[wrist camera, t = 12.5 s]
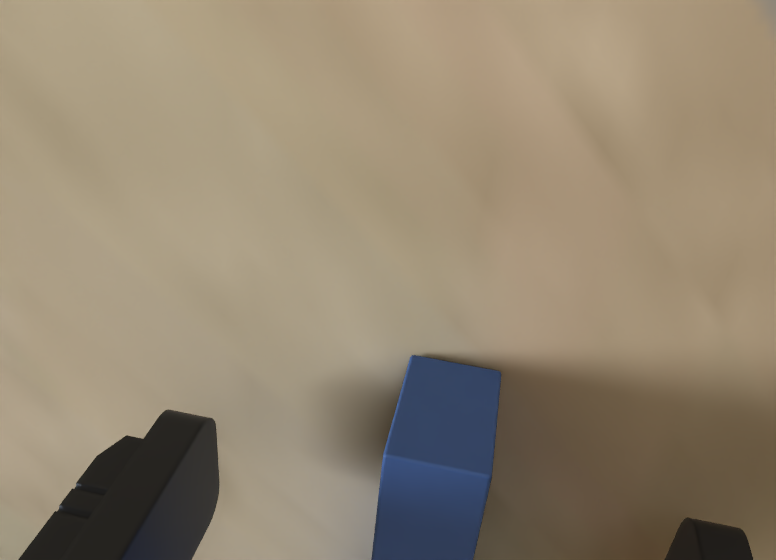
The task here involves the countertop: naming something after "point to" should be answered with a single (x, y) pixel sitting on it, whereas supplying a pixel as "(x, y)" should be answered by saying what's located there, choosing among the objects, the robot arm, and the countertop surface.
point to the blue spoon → (437, 462)
